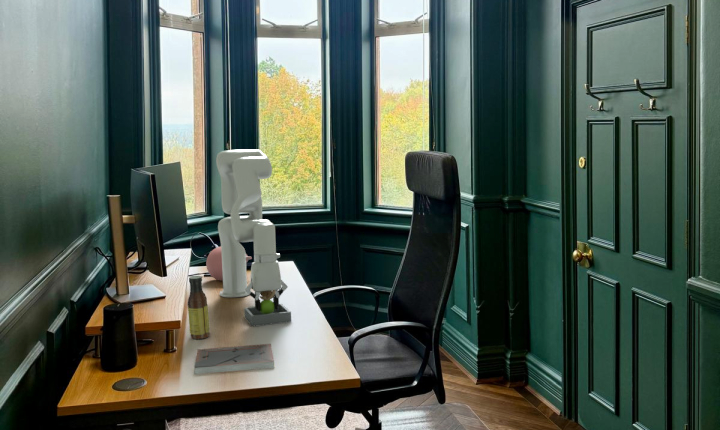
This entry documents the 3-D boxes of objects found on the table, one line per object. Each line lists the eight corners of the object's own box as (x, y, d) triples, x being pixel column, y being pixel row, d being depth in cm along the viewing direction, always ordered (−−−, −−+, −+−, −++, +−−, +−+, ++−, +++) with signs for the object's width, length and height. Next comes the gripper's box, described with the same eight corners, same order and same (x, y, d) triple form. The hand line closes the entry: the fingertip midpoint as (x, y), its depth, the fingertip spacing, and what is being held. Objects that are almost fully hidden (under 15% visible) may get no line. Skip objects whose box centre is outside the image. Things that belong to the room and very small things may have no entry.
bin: (244, 317, 246) (244, 307, 245) (282, 313, 251) (281, 303, 250) (252, 326, 234) (251, 316, 234) (291, 321, 239) (290, 311, 238)
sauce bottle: (203, 333, 228) (200, 273, 225) (213, 336, 223) (210, 276, 221) (185, 337, 223) (182, 277, 221) (195, 341, 219) (192, 279, 216)
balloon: (253, 282, 303) (252, 247, 301) (206, 285, 299) (205, 250, 297) (251, 275, 318) (250, 242, 316) (207, 278, 314) (205, 244, 312)
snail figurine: (275, 317, 239) (273, 283, 238) (257, 316, 240) (256, 282, 239) (279, 312, 245) (278, 279, 243) (262, 312, 246) (261, 279, 244)
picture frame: (195, 375, 189) (274, 369, 193) (194, 367, 189) (274, 360, 193) (197, 356, 206) (271, 350, 209) (197, 348, 205) (270, 342, 209)
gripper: (286, 254, 246) (288, 304, 249) (238, 258, 240) (240, 309, 242) (292, 258, 239) (293, 309, 242) (242, 262, 233) (244, 314, 236)
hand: (267, 308), depth 242 cm, fingers closed on snail figurine, 5 cm apart
